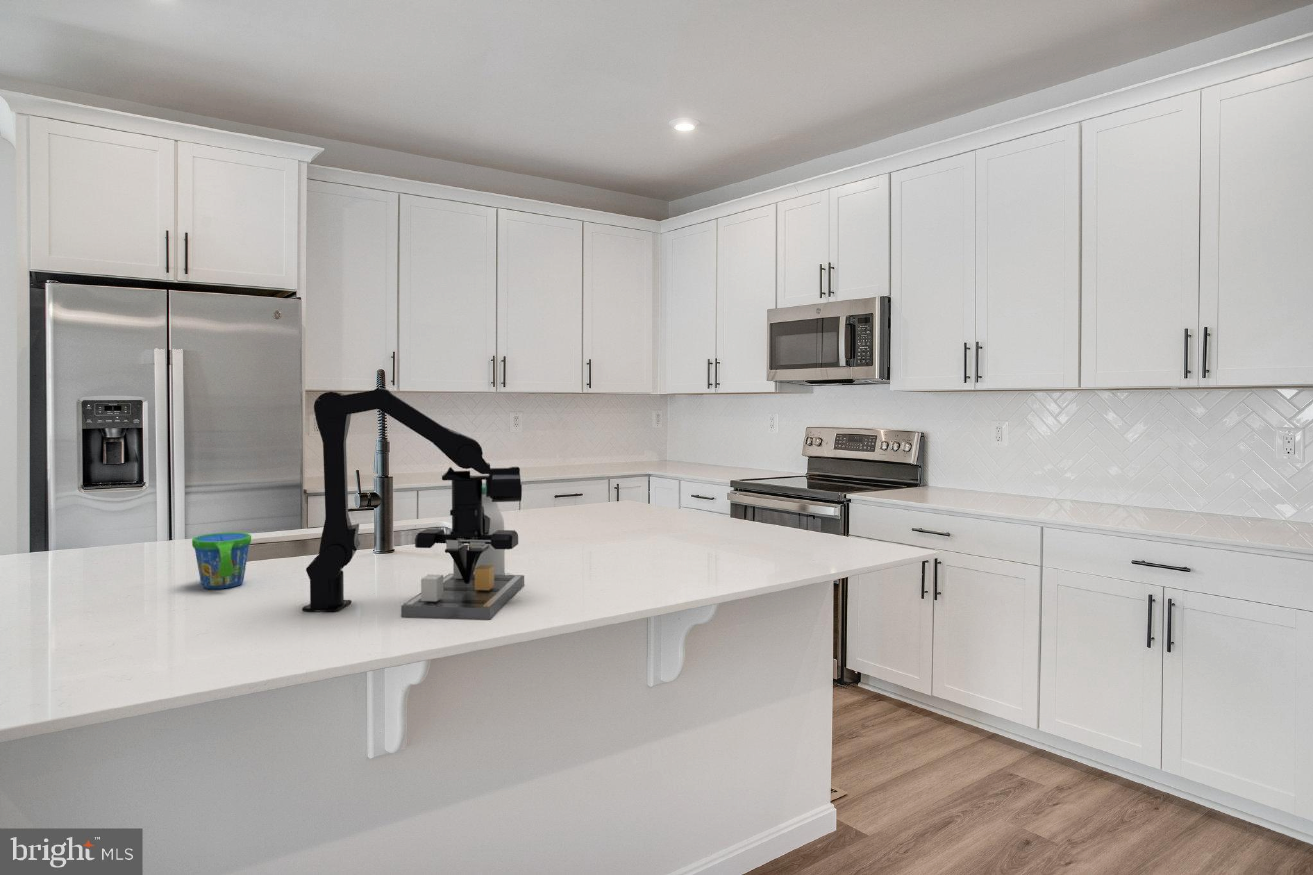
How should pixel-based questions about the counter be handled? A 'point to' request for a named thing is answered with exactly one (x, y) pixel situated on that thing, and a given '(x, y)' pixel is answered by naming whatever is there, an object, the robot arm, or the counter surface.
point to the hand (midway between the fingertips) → (467, 583)
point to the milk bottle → (496, 523)
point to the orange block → (484, 577)
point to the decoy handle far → (456, 571)
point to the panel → (465, 599)
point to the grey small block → (431, 587)
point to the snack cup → (221, 559)
